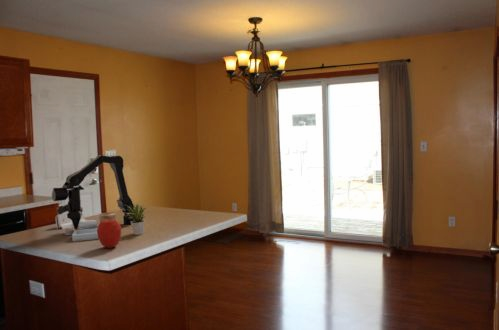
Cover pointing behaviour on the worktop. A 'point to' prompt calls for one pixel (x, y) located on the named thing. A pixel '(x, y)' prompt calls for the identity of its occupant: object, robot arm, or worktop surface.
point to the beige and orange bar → (86, 225)
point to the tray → (85, 234)
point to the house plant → (137, 219)
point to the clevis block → (102, 217)
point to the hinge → (65, 220)
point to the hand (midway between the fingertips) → (76, 228)
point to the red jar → (109, 233)
